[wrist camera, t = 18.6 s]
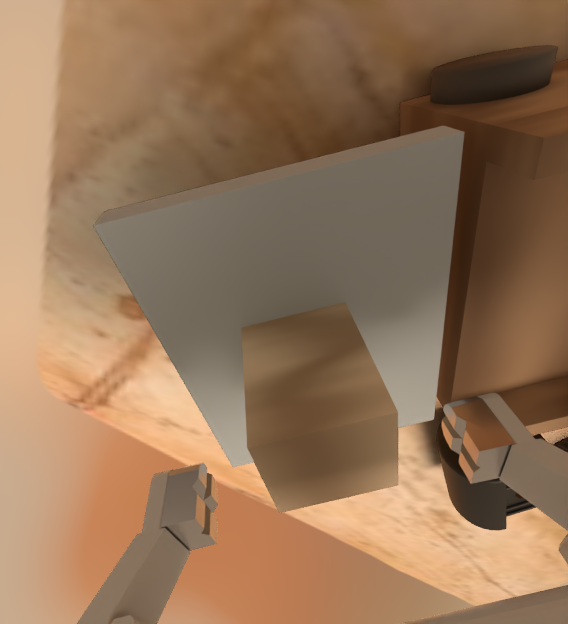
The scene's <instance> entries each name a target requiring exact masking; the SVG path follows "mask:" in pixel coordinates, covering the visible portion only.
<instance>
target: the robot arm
mask: <svg viewBox="0 0 568 624" xmlns="http://www.w3.org/2000/svg"><path fill="white" fill-rule="evenodd" d="M443 412H444V413H445V415H446V416H445V417H444V418H443V419H442V430H443V434H444V437H445V439H446V441H447V443H448V445H449V447H450V448H451V449H452V450H453V451H455V452H456V453H458V454H459V455H460V456H459V464H460V466H461V468H462V469H463V471H464V473H465V474H466V476H467V478H468V480H469V481H470V483H471V484H472V483H477V482H482V481H487V480H492V479H497V478H500V479H499V480H501V481H502V482H503V483H505V484H506V485H507V486H509V487H510V488H511V489H513V490H514V491H515V492H517V493H518V494H519V495H521V496H522V497H523V498H525V499H526V500H527V501H529V502H530V503H531V504H533V505H534V506H535V507H537V508H538V509H539V510H541V511H542V512H543V513H545V514H546V515H547V516H549V517H550V518H551V519H553V520H554V521H555V522H557V523H558V524H559V525H561V526H562V527H563V528H565V529H566V530H567V531H568V453H567V452H565V451H563V450H561V449H560V448H558V447H556V446H554V445H552V444H550V443H548V442H546V441H545V440H543V439H541V438H540V439H535V438H534V437H533V436H532V435H531V433H530V432H529V431H528V430H527V428H526V427H525V426H524V425H523V424H522V422H521V421H520V420H519V419H518V417H517V416H516V415H515V414H514V413H513V411H512V410H511V409H510V408H509V406H508V405H507V404H506V403H505V402H504V400H503V399H502V398H501V397H500V396H499V395H498V394H496V393H488V394H484V395H480V396H475V397H471V398H467V399H463V400H459V401H456V402H452V403H448V404H446V405H444V409H443ZM217 505H218V492H217V485H216V482H215V479H214V477H213V476H212V475H211V474H209V473H207V467H206V465H205V464H204V463H199V464H195V465H190V466H186V467H182V468H178V469H174V470H168V471H164V472H161V473H156V474H154V476H153V478H152V481H151V485H150V491H149V497H148V502H147V508H146V513H145V518H144V523H143V529H142V533H139V534H137V535H136V536H135V538H134V539H133V541H132V542H131V544H130V545H129V547H128V548H127V550H126V551H125V553H124V554H123V556H122V557H121V559H120V560H119V562H118V563H117V565H116V566H115V568H114V569H113V571H112V572H111V574H110V575H109V577H108V578H107V580H106V581H105V582H104V584H103V585H102V587H101V588H100V590H99V591H98V593H97V595H96V596H95V597H94V599H93V600H92V602H91V603H90V605H89V606H88V608H87V609H86V611H85V612H84V614H83V615H82V617H81V618H80V620H79V621H78V623H77V624H157V623H158V620H159V618H160V616H161V614H162V612H163V609H164V607H165V605H166V603H167V601H168V599H169V597H170V595H171V593H172V591H173V588H174V586H175V584H176V582H177V580H178V578H179V576H180V574H181V571H182V569H183V567H184V565H185V563H186V561H187V559H188V557H189V555H190V551H191V550H195V549H199V548H202V547H206V546H210V545H214V544H217V518H216V517H215V516H214V514H213V512H214V510H215V509H216V507H217ZM559 552H560V553H561V555H562V556H563V558H564V559H565V561H566V562H567V564H568V534H567V536H566V537H565V538H564V540H563V541H562V542H561V544H560V546H559ZM401 624H568V585H566V586H562V587H557V588H553V589H549V590H544V591H540V592H536V593H531V594H527V595H523V596H518V597H514V598H509V599H505V600H501V601H496V602H492V603H488V604H483V605H479V606H475V607H471V608H466V609H462V610H457V611H453V612H449V613H444V614H440V615H435V616H431V617H427V618H423V619H418V620H414V621H410V622H405V623H401Z"/></svg>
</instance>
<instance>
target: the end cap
mask: <svg viewBox="0 0 568 624" xmlns="http://www.w3.org/2000/svg"><path fill="white" fill-rule="evenodd" d="M533 437H534V438H535V439H540V438H541V439H543V440H545V439H544V438H543V437H542V436H541V434H537V435H534V436H533ZM545 441H546V440H545ZM437 446H438V451H439V455H440V459H441V463H442V467H443V472H444V476H445V480H446V484H447V488H448V492H449V496H450V499H451V501H452V503H453V505H454V507H455V508H456V510H457V511H458V512H459V513H460V514H461V515H462V516H463V517H464V518H465V519H466V520H467V521H469V522H471V523H472V524H474V525H476V526H478V527H481V528H484V529H488V530H503V529H506V517H507V516H510V515H513V514H516V513H520V512H523V511H526V510H529V509H533V508H536V507H535V506H534V505H533V504H531V503H530V502H529V501H527V500H526V499H525V498H523V497H522V496H521V495H519V494H518V493H517V492H515V491H514V490H513V489H511V488H510V487H509V486H507V485H506V484H505V483H503V482H502V481H501V480H499V479H500V478H497V479H492V480H487V481H482V482H477V483H472V484H471V483H470V481H469V480H468V478H467V476H466V474H465V473H464V471H463V469H462V468H461V466H460V464H459V456H460V455H459V454H458V453H456V452H455V451H453V450H452V449H451V448H450V447H449V445H448V443H447V441H446V439H445V437H444V434H443V430H442V422H441V424H440V426H439V428H438V432H437Z"/></svg>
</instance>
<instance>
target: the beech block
mask: <svg viewBox="0 0 568 624" xmlns="http://www.w3.org/2000/svg"><path fill="white" fill-rule="evenodd" d="M241 330H242V351H243V371H244V392H245V413H246V434H247V449H248V451H249V453H250V455H251V457H252V459H253V461H254V463H255V465H256V467H257V469H258V471H259V473H260V475H261V477H262V479H263V481H264V483H265V485H266V487H267V489H268V491H269V493H270V495H271V497H272V499H273V501H274V503H275V505H276V507H277V509H278V511H279V513H282V512H286V511H290V510H295V509H299V508H303V507H307V506H312V505H316V504H320V503H325V502H329V501H333V500H337V499H342V498H346V497H350V496H355V495H359V494H363V493H367V492H372V491H376V490H380V489H384V488H389V487H393V486H397V485H398V411H397V409H396V407H395V404H394V402H393V400H392V398H391V396H390V394H389V392H388V390H387V388H386V386H385V384H384V382H383V380H382V377H381V375H380V373H379V371H378V369H377V367H376V365H375V363H374V361H373V359H372V357H371V355H370V352H369V350H368V348H367V346H366V344H365V342H364V340H363V338H362V336H361V334H360V332H359V330H358V328H357V325H356V323H355V321H354V319H353V317H352V315H351V313H350V311H349V309H348V307H347V305H346V303H345V302H344V303H340V304H336V305H331V306H327V307H323V308H319V309H315V310H311V311H307V312H303V313H299V314H295V315H290V316H286V317H282V318H278V319H274V320H270V321H266V322H262V323H258V324H254V325H250V326H245V327H241Z"/></svg>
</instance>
